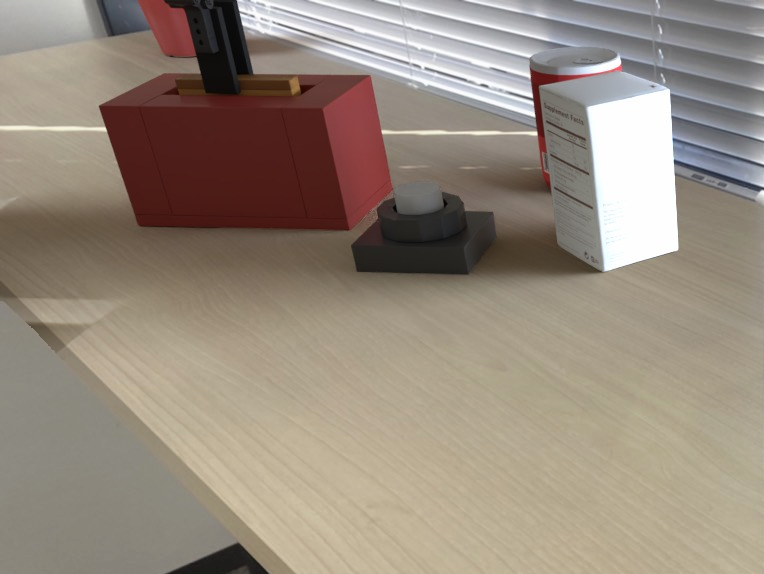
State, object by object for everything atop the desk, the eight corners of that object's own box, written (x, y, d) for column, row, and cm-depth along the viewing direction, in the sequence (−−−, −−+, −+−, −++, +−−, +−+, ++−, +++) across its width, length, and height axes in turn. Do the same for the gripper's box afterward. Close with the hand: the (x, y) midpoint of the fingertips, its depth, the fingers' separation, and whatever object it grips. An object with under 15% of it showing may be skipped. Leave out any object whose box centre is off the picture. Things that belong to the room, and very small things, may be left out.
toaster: (137, 225, 100) (98, 105, 94) (197, 185, 108) (163, 72, 102) (349, 230, 98) (322, 108, 92) (393, 189, 106) (370, 74, 100)
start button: (390, 218, 90) (386, 195, 89) (406, 202, 93) (402, 180, 91) (435, 219, 89) (431, 196, 88) (450, 203, 92) (446, 181, 91)
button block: (356, 272, 90) (345, 222, 88) (392, 235, 97) (382, 187, 94) (468, 275, 89) (460, 224, 87) (497, 237, 96) (490, 189, 93)
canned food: (626, 196, 103) (616, 66, 97) (537, 197, 104) (521, 67, 97) (633, 169, 110) (624, 45, 103) (549, 170, 110) (535, 46, 103)
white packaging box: (632, 226, 97) (620, 67, 90) (680, 252, 92) (672, 86, 85) (554, 246, 94) (535, 83, 86) (600, 274, 89) (585, 104, 82)
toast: (208, 198, 102) (174, 79, 96) (217, 191, 103) (184, 74, 98) (317, 200, 101) (288, 80, 95) (324, 194, 102) (297, 75, 97)
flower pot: (150, 64, 147) (125, -20, 142) (150, 46, 156) (126, -34, 150) (238, 55, 151) (217, -28, 145) (233, 38, 159) (213, -41, 153)
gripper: (143, -251, 77) (232, 115, 91) (246, -256, 89) (310, 67, 103) (37, -253, 77) (141, 111, 91) (153, -257, 89) (229, 64, 103)
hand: (230, 87), depth 97 cm, fingers open, 2 cm apart
